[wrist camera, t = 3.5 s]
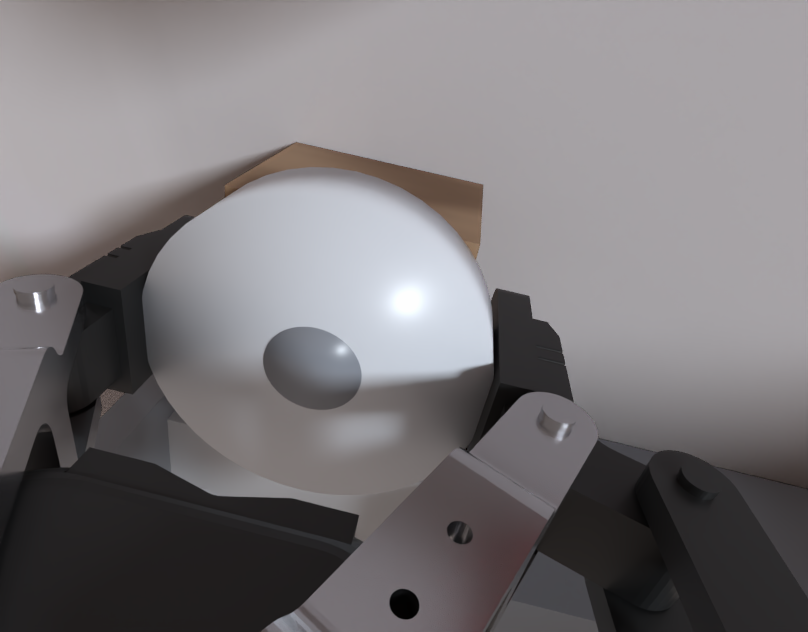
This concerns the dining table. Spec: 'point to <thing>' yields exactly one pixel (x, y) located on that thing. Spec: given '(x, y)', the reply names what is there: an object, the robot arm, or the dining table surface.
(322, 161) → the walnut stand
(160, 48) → the dining table surface
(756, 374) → the dining table surface
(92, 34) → the dining table surface
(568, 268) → the dining table surface
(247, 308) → the disc
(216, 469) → the tray
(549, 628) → the block
